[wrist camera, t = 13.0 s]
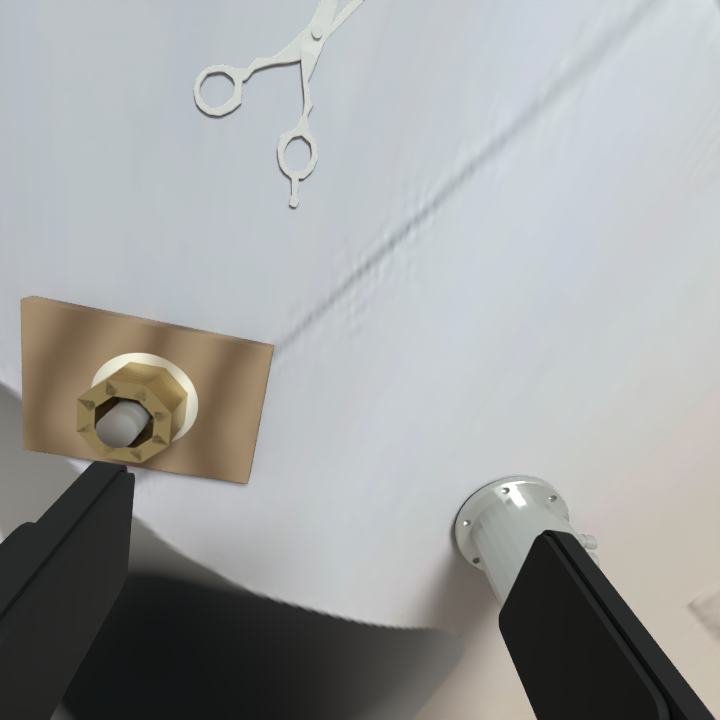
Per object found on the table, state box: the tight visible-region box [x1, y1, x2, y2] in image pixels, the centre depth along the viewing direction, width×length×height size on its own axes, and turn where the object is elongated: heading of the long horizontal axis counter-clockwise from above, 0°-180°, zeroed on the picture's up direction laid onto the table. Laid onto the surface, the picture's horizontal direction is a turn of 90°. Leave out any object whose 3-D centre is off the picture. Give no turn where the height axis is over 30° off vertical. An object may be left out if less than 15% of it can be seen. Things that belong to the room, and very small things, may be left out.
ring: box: [77, 362, 188, 463], centre depth 34 cm, size 7×7×4 cm
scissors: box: [194, 0, 364, 207], centre depth 30 cm, size 11×1×20 cm
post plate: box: [21, 296, 274, 484], centre depth 34 cm, size 20×14×7 cm
